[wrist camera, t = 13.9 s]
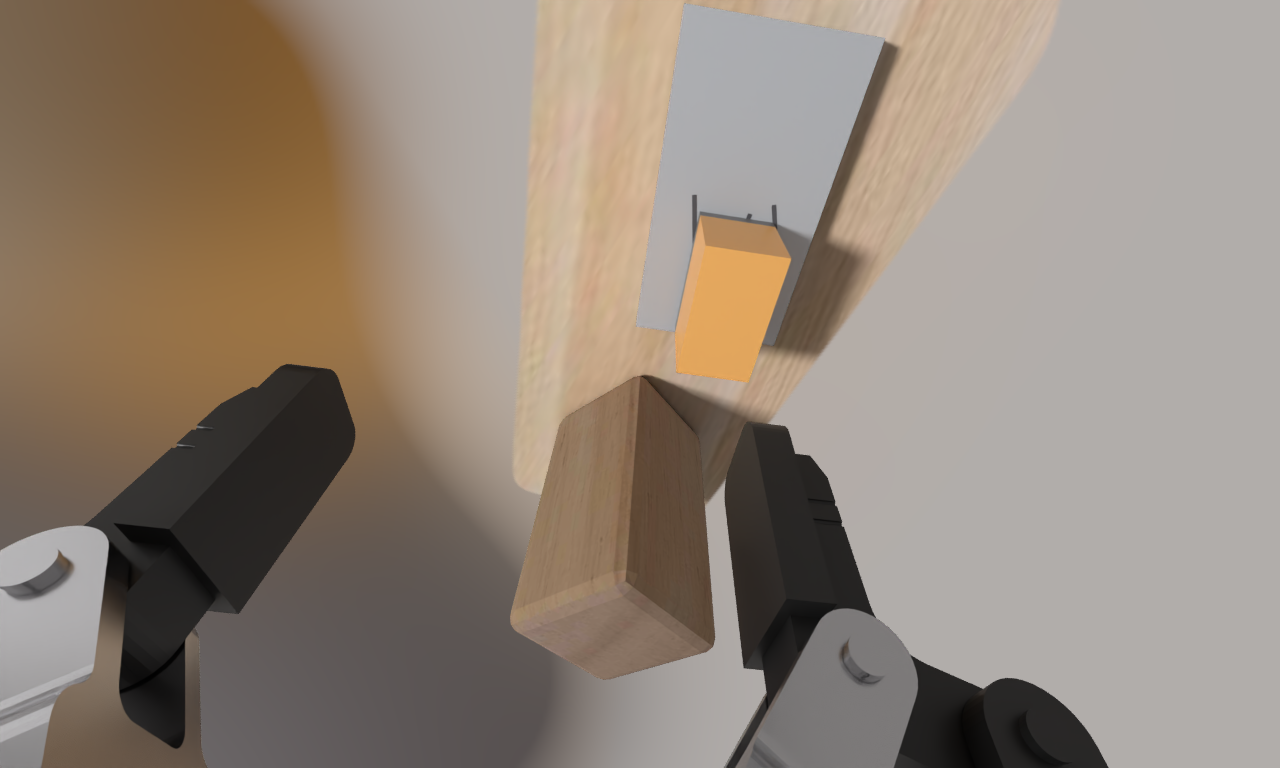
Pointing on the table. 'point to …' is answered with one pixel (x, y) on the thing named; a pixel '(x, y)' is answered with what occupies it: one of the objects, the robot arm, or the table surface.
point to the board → (750, 140)
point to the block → (620, 540)
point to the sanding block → (728, 296)
